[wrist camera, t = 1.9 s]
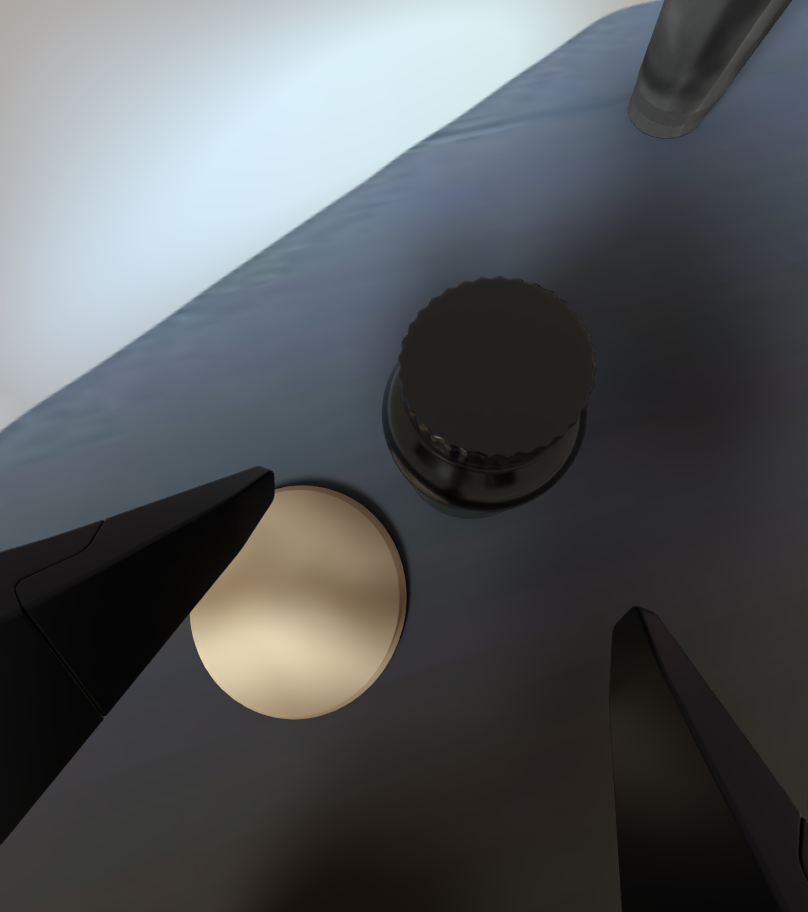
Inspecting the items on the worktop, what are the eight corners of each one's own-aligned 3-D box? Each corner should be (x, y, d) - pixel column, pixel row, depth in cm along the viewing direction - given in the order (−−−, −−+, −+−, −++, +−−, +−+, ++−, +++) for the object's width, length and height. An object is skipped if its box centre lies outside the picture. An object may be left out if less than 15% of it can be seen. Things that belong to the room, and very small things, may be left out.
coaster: (421, 702, 19) (421, 710, 18) (196, 728, 19) (186, 736, 19) (391, 471, 21) (389, 469, 20) (191, 501, 22) (182, 500, 21)
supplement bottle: (493, 377, 22) (557, 194, 10) (554, 485, 20) (714, 422, 8) (384, 429, 22) (317, 309, 10) (436, 541, 20) (432, 557, 8)
